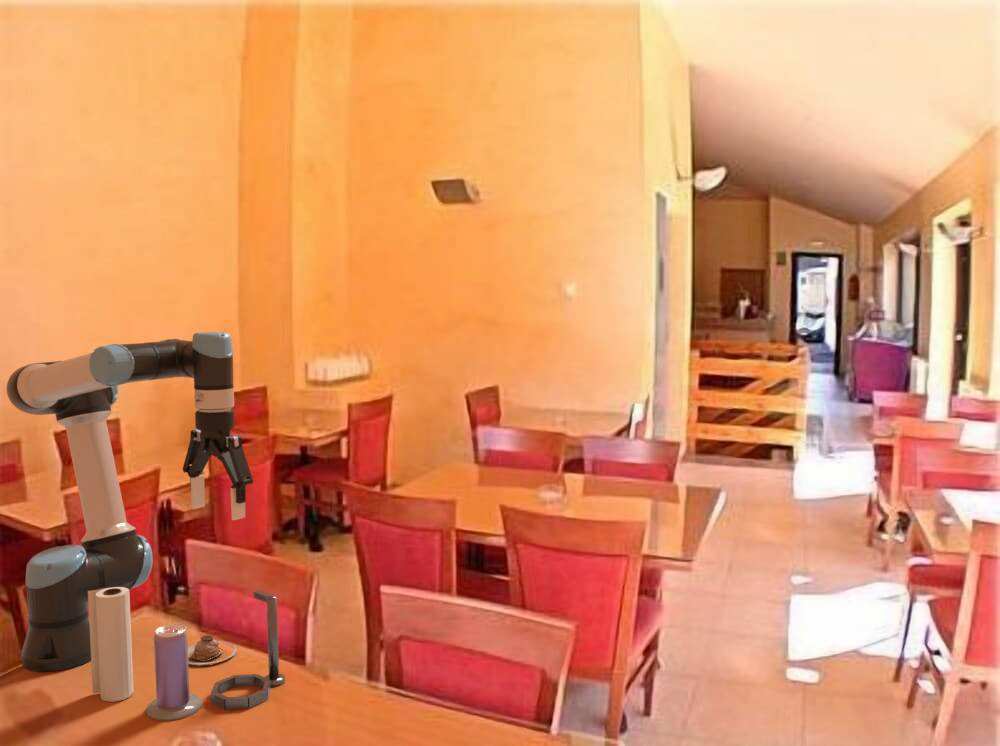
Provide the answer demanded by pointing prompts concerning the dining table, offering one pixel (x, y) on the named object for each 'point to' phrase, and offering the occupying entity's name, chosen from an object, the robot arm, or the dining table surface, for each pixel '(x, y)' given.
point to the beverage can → (171, 667)
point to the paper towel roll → (111, 643)
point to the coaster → (188, 710)
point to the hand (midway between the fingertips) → (218, 513)
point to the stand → (254, 679)
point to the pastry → (207, 651)
